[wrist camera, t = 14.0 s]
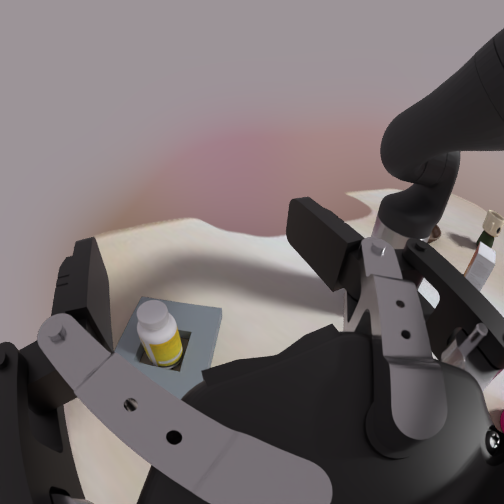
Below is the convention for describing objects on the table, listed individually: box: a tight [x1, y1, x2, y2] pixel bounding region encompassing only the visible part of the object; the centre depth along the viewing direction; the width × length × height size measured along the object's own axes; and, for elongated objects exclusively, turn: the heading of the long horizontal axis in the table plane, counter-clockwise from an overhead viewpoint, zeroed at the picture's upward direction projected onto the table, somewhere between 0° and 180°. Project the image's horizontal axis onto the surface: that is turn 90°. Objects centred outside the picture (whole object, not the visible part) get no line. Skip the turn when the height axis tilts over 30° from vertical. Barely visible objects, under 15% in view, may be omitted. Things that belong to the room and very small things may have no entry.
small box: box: [464, 242, 496, 292], centre depth 48 cm, size 8×6×10 cm
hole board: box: [114, 297, 222, 400], centre depth 36 cm, size 18×14×2 cm
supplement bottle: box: [137, 300, 183, 369], centre depth 34 cm, size 5×5×10 cm
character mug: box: [476, 210, 504, 248], centre depth 62 cm, size 11×7×13 cm, turn 121°
